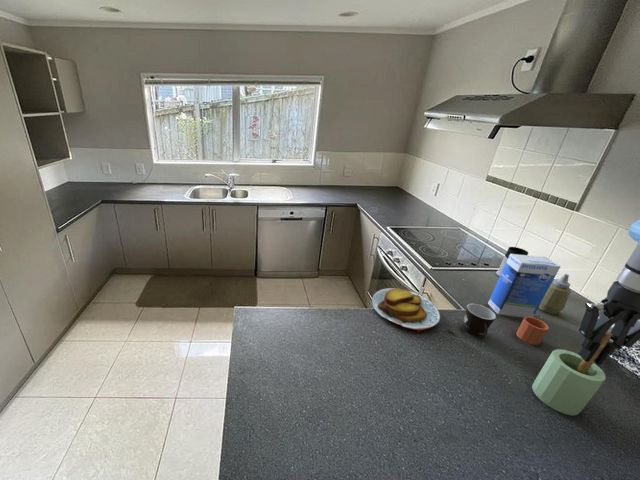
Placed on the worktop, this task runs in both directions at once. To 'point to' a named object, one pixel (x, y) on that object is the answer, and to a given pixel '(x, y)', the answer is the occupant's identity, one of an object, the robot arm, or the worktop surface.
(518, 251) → the holder
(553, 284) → the squeeze bottle
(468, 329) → the coffee mug
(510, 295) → the string lights box
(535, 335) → the brush cup
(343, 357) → the worktop surface
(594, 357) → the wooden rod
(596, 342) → the robot arm
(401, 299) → the food on plate
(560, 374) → the sage green cup
